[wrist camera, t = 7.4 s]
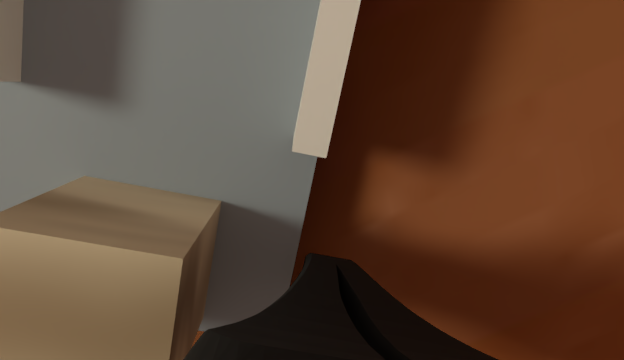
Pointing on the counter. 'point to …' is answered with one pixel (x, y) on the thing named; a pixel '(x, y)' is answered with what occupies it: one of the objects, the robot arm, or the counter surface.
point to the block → (104, 272)
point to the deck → (172, 121)
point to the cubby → (318, 81)
